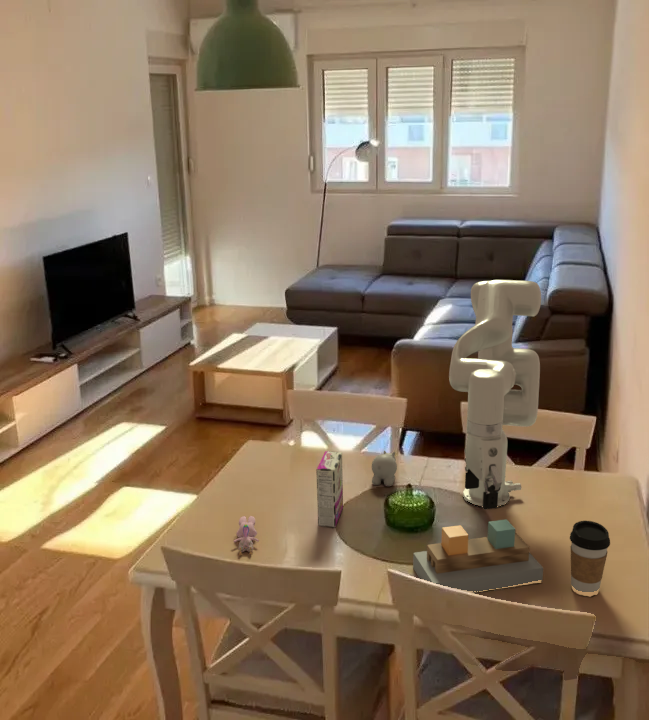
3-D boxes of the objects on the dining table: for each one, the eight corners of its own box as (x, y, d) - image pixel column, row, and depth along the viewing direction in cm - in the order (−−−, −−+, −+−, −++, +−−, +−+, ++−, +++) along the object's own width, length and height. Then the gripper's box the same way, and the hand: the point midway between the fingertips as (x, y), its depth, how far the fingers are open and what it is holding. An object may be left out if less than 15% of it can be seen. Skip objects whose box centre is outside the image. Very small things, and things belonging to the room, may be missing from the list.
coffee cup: (596, 578, 181) (602, 519, 176) (610, 600, 173) (617, 538, 168) (560, 579, 181) (565, 520, 176) (572, 601, 173) (578, 539, 168)
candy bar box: (325, 506, 215) (324, 450, 210) (343, 507, 214) (343, 451, 209) (316, 526, 205) (315, 468, 200) (335, 528, 204) (335, 469, 199)
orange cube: (459, 542, 182) (460, 525, 180) (467, 552, 178) (468, 534, 176) (441, 545, 181) (441, 527, 180) (448, 555, 177) (449, 537, 175)
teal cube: (505, 536, 184) (506, 519, 183) (514, 546, 180) (515, 528, 179) (487, 539, 183) (488, 521, 182) (495, 549, 179) (496, 531, 178)
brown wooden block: (515, 546, 187) (516, 532, 186) (528, 560, 181) (529, 547, 180) (426, 558, 182) (427, 544, 181) (436, 573, 176) (437, 559, 175)
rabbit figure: (259, 560, 192) (260, 521, 206) (258, 540, 189) (259, 502, 203) (233, 561, 192) (235, 522, 205) (231, 541, 189) (234, 503, 203)
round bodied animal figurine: (403, 472, 235) (404, 445, 232) (392, 489, 224) (392, 462, 222) (380, 468, 237) (380, 442, 235) (368, 485, 227) (368, 458, 224)
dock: (516, 553, 191) (517, 538, 190) (542, 583, 179) (543, 567, 178) (413, 567, 186) (413, 552, 184) (432, 599, 174) (433, 583, 172)
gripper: (518, 440, 164) (513, 514, 170) (484, 410, 180) (480, 479, 186) (484, 444, 163) (480, 518, 168) (452, 413, 179) (450, 482, 184)
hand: (480, 497), depth 177 cm, fingers open, 9 cm apart
